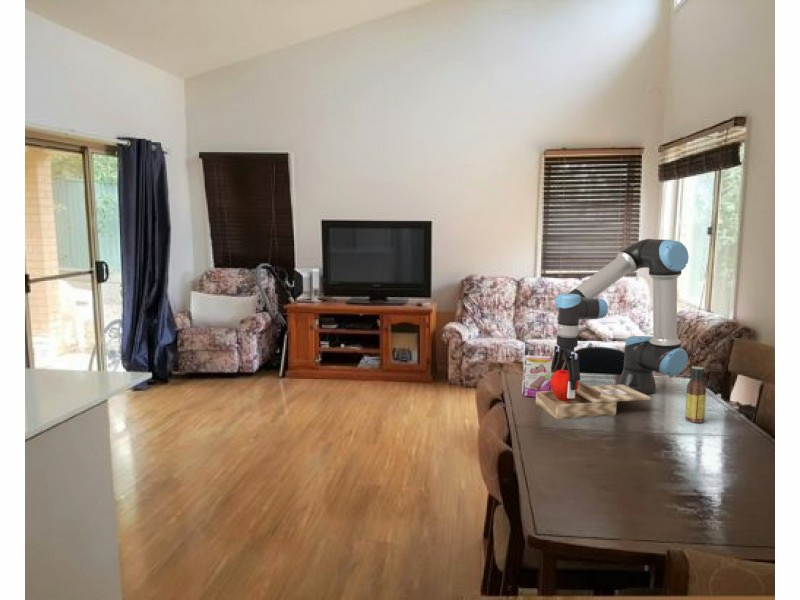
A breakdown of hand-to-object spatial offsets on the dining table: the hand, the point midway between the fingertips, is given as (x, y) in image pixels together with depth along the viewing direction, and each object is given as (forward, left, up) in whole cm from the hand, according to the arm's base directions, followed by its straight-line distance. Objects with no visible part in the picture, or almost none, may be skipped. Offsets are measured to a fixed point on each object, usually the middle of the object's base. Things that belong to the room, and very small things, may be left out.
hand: (563, 393), depth 216 cm
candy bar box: (+2, -18, -7) cm, 19 cm away
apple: (0, 0, -3) cm, 3 cm away
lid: (-19, 0, -1) cm, 19 cm away
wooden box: (-5, 0, -6) cm, 8 cm away
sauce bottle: (-42, +19, -7) cm, 47 cm away
